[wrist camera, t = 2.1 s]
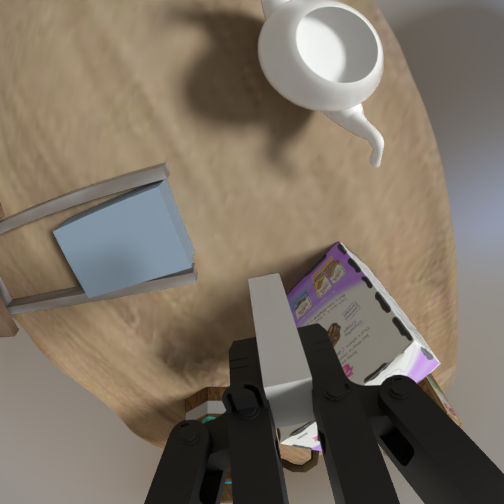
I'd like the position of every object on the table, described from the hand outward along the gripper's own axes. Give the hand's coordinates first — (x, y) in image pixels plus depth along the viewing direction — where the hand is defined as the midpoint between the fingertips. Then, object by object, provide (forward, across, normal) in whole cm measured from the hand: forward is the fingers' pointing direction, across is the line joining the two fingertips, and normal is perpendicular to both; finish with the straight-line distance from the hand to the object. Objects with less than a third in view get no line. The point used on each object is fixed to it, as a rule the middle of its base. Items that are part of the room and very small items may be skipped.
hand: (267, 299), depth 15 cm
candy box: (+16, +6, -12) cm, 21 cm away
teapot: (+16, +8, +13) cm, 22 cm away
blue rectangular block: (+16, -12, 0) cm, 20 cm away
